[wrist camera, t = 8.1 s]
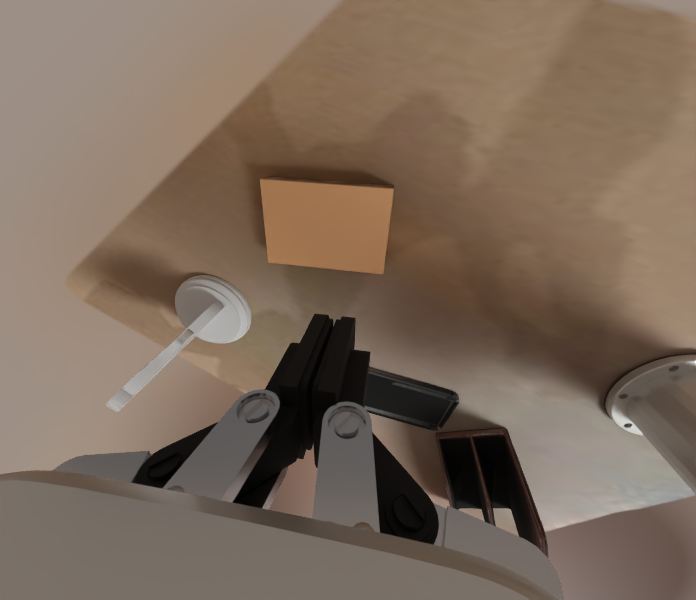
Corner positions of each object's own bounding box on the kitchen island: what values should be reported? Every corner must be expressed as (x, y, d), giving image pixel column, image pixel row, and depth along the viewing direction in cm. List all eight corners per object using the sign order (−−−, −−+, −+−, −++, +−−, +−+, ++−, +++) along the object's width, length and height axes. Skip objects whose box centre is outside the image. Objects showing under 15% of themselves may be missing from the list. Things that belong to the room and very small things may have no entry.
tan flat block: (393, 189, 24) (259, 179, 25) (383, 274, 28) (268, 262, 29) (393, 184, 26) (272, 176, 27) (384, 263, 30) (278, 252, 31)
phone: (438, 432, 41) (340, 404, 40) (437, 425, 42) (341, 398, 41) (462, 397, 37) (354, 366, 36) (460, 390, 38) (355, 361, 37)
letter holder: (506, 425, 39) (557, 551, 27) (512, 500, 48) (553, 621, 36) (434, 431, 42) (452, 548, 30) (452, 501, 50) (471, 614, 38)
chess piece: (266, 314, 35) (194, 412, 22) (225, 350, 39) (144, 451, 26) (203, 259, 33) (78, 334, 20) (166, 304, 37) (43, 391, 24)
